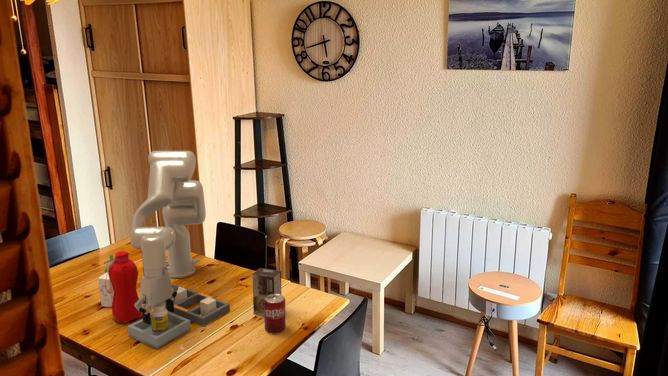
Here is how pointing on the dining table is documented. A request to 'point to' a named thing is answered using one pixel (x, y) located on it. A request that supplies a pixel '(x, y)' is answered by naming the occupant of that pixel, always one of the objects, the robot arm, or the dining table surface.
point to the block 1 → (180, 295)
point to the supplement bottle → (159, 318)
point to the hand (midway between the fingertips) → (159, 317)
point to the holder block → (195, 312)
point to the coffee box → (264, 287)
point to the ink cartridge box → (104, 294)
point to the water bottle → (124, 288)
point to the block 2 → (207, 306)
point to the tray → (156, 341)
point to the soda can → (274, 313)
